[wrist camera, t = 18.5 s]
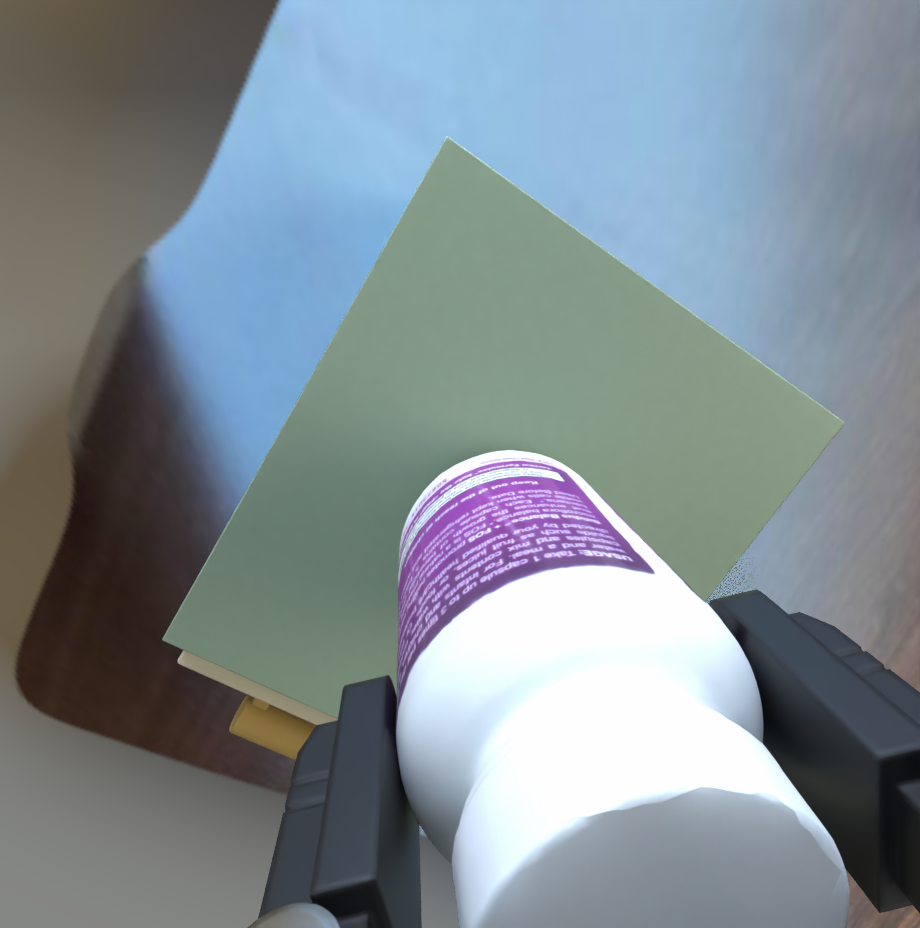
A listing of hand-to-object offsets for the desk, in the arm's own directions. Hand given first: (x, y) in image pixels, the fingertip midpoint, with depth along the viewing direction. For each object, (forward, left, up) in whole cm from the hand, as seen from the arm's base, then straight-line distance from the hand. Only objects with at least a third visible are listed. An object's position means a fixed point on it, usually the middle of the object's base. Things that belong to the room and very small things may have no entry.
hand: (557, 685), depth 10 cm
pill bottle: (0, 0, -6) cm, 6 cm away
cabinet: (0, 0, -16) cm, 16 cm away
